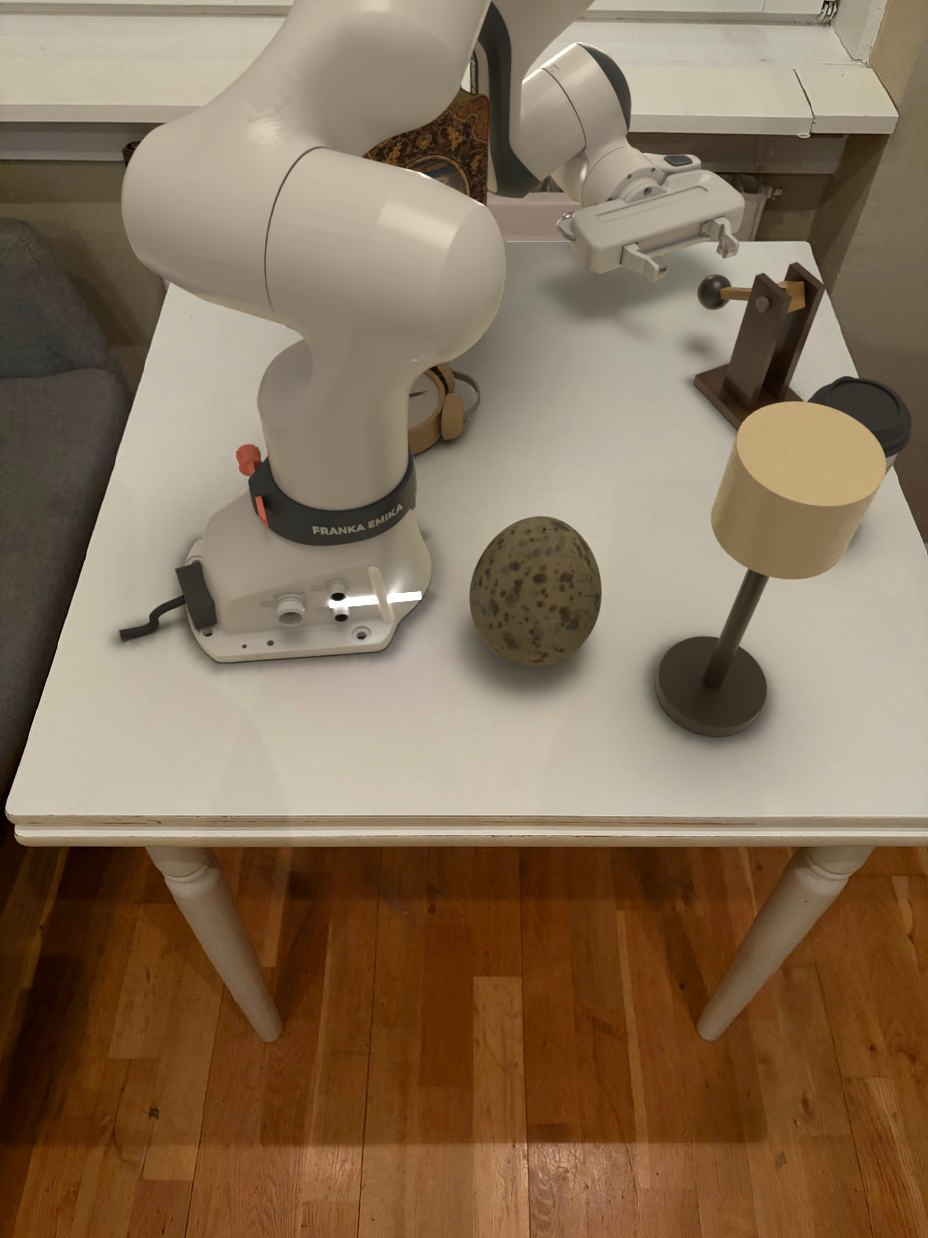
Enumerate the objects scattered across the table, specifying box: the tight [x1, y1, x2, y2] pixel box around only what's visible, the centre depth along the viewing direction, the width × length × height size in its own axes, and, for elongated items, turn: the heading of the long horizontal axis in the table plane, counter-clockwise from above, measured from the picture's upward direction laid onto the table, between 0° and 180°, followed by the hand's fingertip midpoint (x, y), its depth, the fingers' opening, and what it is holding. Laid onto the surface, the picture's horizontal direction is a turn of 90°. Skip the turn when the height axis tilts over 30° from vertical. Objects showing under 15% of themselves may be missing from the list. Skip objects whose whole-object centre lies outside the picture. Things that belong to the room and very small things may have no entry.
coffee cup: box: [806, 375, 913, 477], centre depth 86 cm, size 9×9×15 cm
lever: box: [696, 273, 805, 313], centre depth 96 cm, size 14×4×4 cm
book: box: [362, 84, 489, 207], centre depth 98 cm, size 16×6×25 cm, turn 122°
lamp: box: [654, 401, 886, 738], centre depth 69 cm, size 9×9×28 cm
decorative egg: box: [468, 515, 603, 667], centre depth 77 cm, size 11×11×15 cm
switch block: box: [692, 261, 827, 431], centre depth 96 cm, size 10×8×15 cm
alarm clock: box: [408, 362, 481, 455], centre depth 98 cm, size 11×5×15 cm
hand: (696, 262), depth 102 cm, fingers open, 8 cm apart
